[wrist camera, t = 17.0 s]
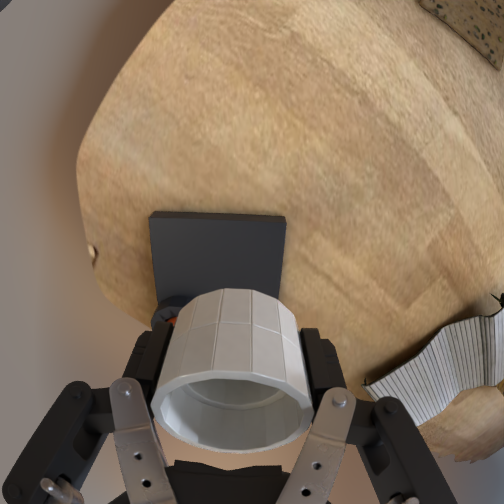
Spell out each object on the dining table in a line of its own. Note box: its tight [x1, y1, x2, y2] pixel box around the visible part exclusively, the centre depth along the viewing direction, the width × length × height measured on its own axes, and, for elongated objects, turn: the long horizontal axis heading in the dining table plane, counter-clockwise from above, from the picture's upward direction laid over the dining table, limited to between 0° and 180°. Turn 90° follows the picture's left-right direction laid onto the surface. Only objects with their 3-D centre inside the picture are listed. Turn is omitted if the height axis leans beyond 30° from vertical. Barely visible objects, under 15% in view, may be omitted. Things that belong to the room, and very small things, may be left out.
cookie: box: [420, 0, 504, 71], centre depth 15 cm, size 12×12×1 cm
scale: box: [149, 211, 287, 330], centre depth 28 cm, size 12×14×4 cm
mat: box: [361, 293, 504, 427], centre depth 36 cm, size 23×24×5 cm
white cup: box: [150, 288, 315, 453], centre depth 12 cm, size 6×6×5 cm
